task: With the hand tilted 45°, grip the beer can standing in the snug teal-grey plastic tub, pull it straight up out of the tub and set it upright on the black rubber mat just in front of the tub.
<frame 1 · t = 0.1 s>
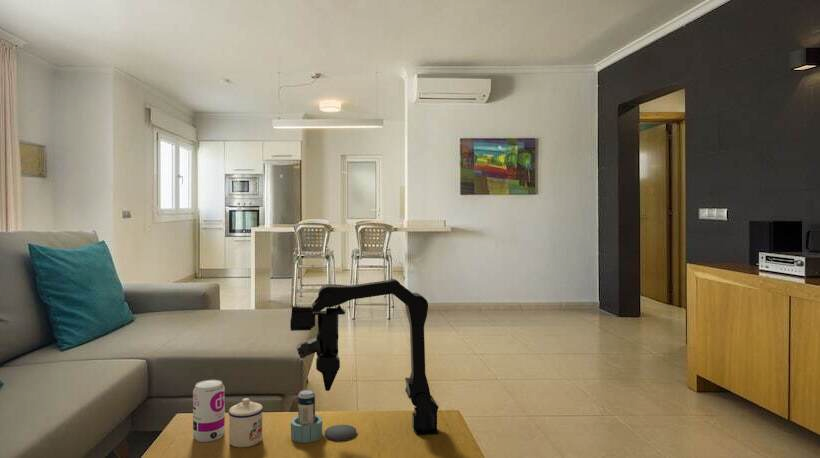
hand: (327, 385, 143), 15 cm above the table, tool pointing down, fingers open, 9 cm apart
teacup with lid: (248, 439, 142), on the table
supplement can: (209, 437, 143), on the table
plastic tub: (306, 436, 143), on the table
beer can: (306, 434, 143), resting on plastic tub
rubber mat: (340, 434, 145), on the table
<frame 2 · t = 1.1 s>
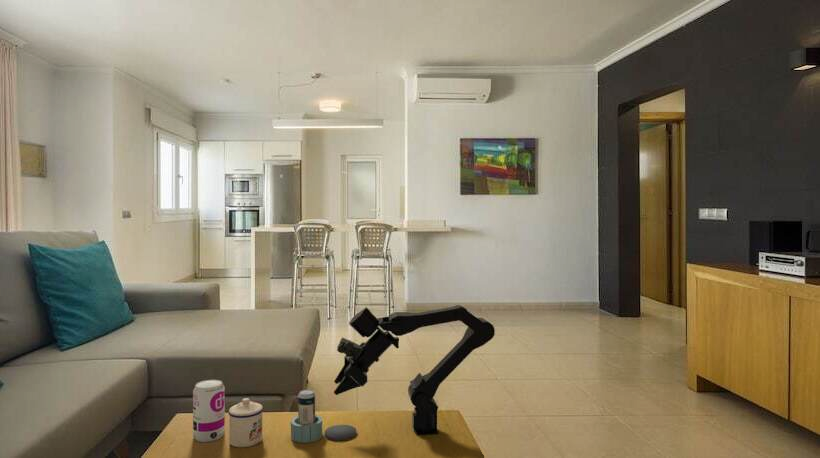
hand: (335, 388, 144), 13 cm above the table, tool tilted 45°, fingers open, 9 cm apart
nothing on the table moved.
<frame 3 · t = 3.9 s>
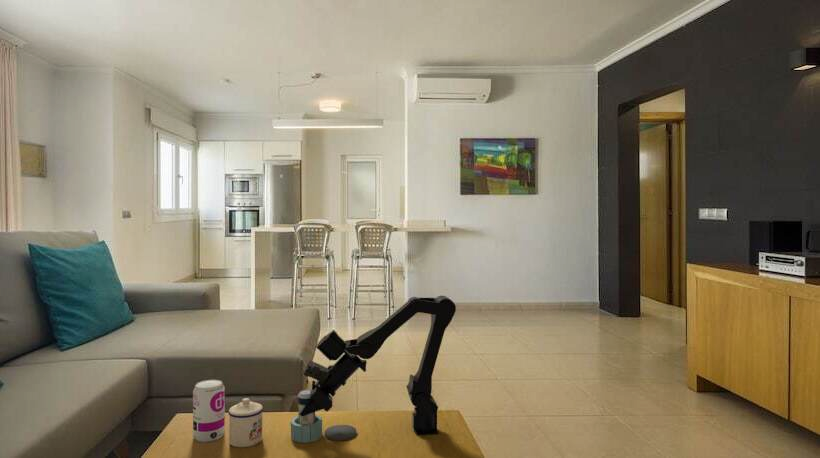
hand: (301, 411, 143), 7 cm above the table, tool tilted 45°, fingers closed on beer can, 5 cm apart
beer can: (306, 434, 143), resting on plastic tub, touching gripper
everything else where it was.
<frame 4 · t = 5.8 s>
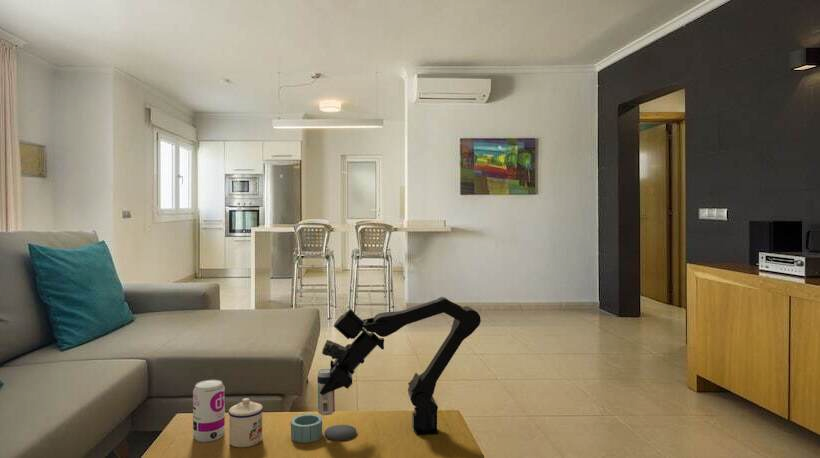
hand: (321, 390, 144), 13 cm above the table, tool tilted 45°, fingers closed on beer can, 5 cm apart
beer can: (326, 413, 144), point 6 cm above the table, touching gripper
everything else where it was.
when the fingers open (8 cm above the table, at t = 8.1 s): beer can drops 1 cm, resting on rubber mat.
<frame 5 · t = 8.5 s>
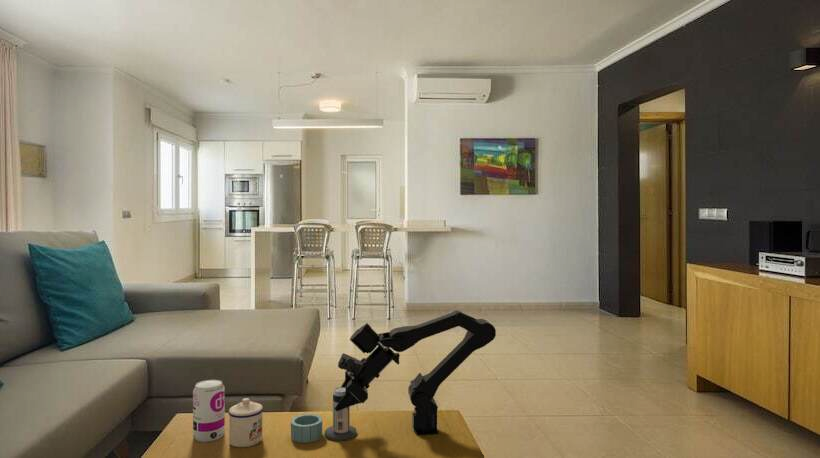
hand: (335, 403, 145), 9 cm above the table, tool tilted 45°, fingers open, 9 cm apart
beer can: (341, 431, 145), point 1 cm above the table, touching rubber mat
everything else where it was.
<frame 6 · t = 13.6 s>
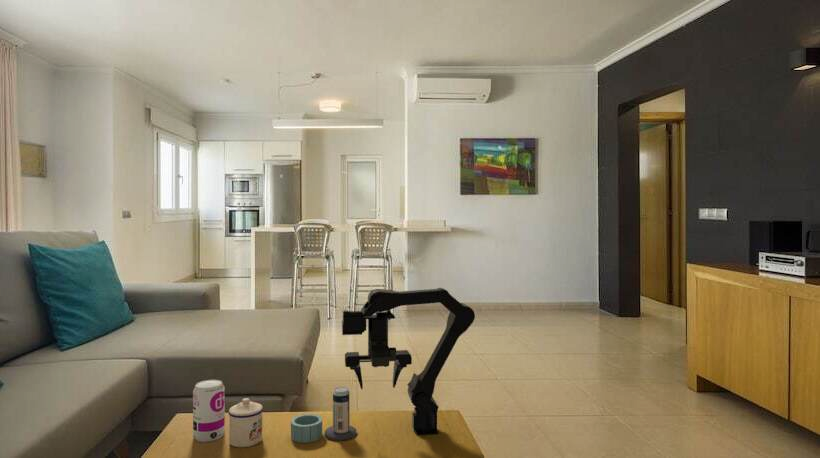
hand: (377, 388, 146), 13 cm above the table, tool pointing down, fingers open, 9 cm apart
nothing on the table moved.
at the end: beer can 0.2 cm off-centre on the rubber mat, point 0.6 cm above the rubber mat's base; beer can tilted 1°; the gripper is holding nothing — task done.
